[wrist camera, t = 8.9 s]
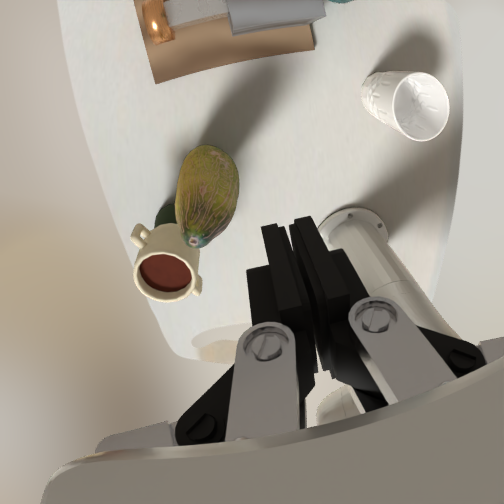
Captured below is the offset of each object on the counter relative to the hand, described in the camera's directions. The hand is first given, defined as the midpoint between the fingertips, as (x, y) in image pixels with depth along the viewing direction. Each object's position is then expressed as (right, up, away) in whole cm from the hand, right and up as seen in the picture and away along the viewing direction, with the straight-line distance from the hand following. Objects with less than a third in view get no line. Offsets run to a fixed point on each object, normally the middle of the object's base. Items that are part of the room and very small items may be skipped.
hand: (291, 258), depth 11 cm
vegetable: (-7, +13, +29) cm, 32 cm away
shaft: (-4, +27, +16) cm, 32 cm away
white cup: (+16, +21, +25) cm, 37 cm away
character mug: (-12, +5, +33) cm, 36 cm away
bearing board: (-4, +28, +18) cm, 34 cm away
